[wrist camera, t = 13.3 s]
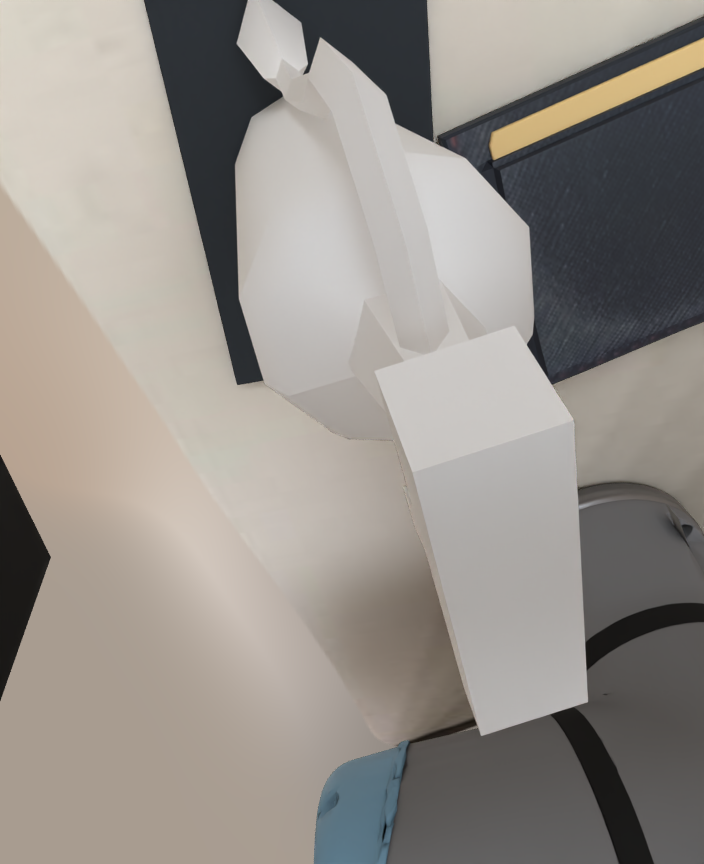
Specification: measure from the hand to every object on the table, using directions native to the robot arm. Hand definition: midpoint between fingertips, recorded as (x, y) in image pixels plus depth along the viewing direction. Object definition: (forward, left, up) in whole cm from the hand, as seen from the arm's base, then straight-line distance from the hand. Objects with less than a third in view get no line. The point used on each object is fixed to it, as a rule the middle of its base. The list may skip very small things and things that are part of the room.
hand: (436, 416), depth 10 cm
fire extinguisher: (0, 0, -23) cm, 23 cm away
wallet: (-5, -17, -23) cm, 29 cm away
